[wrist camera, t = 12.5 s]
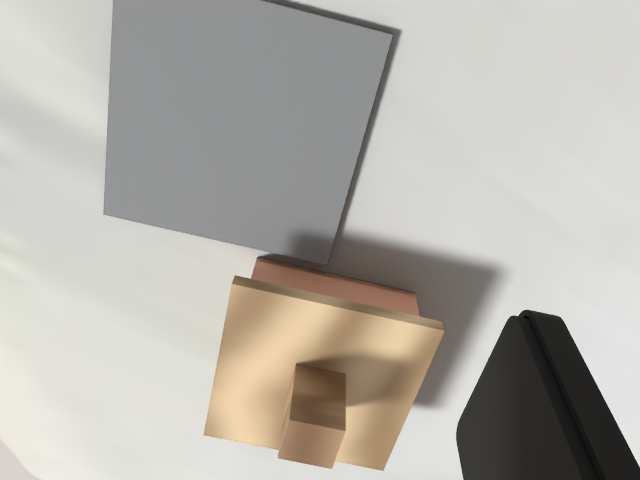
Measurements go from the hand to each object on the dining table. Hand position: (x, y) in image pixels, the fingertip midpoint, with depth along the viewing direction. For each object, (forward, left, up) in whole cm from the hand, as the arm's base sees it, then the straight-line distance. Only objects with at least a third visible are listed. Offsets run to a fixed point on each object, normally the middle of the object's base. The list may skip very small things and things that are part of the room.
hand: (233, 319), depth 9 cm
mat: (+4, +6, -26) cm, 27 cm away
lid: (-5, +21, -22) cm, 30 cm away
